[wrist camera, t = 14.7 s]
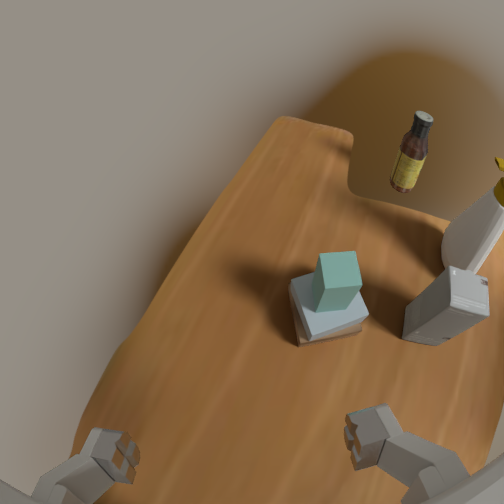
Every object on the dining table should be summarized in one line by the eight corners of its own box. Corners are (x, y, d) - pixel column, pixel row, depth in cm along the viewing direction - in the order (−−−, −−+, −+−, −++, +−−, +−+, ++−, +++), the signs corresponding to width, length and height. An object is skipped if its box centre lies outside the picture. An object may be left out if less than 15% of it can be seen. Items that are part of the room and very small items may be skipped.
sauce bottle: (415, 193, 57) (446, 128, 40) (394, 195, 57) (422, 126, 40) (405, 173, 60) (429, 109, 43) (384, 174, 61) (406, 106, 43)
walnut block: (355, 335, 44) (362, 330, 40) (298, 347, 44) (300, 343, 41) (342, 282, 49) (347, 273, 45) (287, 292, 49) (288, 283, 46)
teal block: (345, 309, 38) (362, 284, 31) (315, 312, 39) (325, 288, 31) (341, 281, 41) (355, 250, 33) (311, 283, 41) (319, 253, 33)
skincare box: (400, 339, 42) (446, 310, 28) (405, 302, 45) (447, 261, 32) (438, 347, 40) (491, 321, 26) (441, 311, 43) (489, 274, 30)
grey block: (361, 321, 41) (369, 314, 38) (309, 341, 41) (312, 335, 37) (340, 273, 46) (345, 261, 42) (290, 289, 45) (291, 279, 42)
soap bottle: (423, 231, 52) (484, 124, 27) (459, 237, 51) (525, 143, 25) (430, 287, 46) (519, 187, 21) (469, 290, 44) (558, 204, 19)
